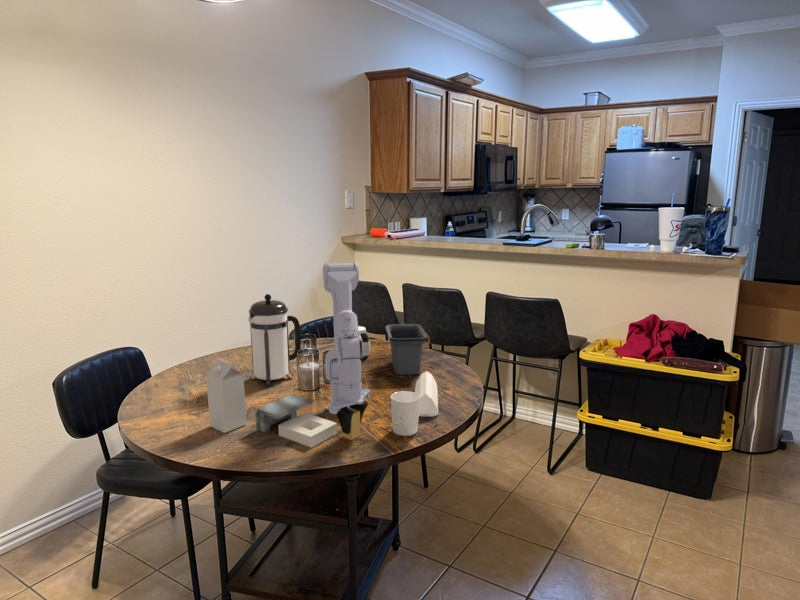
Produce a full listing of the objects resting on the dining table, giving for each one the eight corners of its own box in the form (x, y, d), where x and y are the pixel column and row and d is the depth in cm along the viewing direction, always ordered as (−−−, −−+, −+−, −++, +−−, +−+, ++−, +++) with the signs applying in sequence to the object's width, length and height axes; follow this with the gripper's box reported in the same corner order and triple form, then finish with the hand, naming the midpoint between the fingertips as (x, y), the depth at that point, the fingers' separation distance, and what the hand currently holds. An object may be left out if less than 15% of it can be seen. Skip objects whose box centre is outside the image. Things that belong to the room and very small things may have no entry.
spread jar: (370, 354, 216) (369, 325, 213) (370, 363, 205) (370, 333, 202) (339, 354, 215) (339, 326, 212) (338, 363, 204) (337, 333, 201)
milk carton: (232, 418, 155) (227, 355, 151) (246, 425, 151) (242, 360, 147) (209, 426, 150) (204, 361, 146) (224, 433, 146) (219, 366, 142)
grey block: (291, 414, 158) (290, 393, 157) (313, 421, 153) (312, 400, 152) (256, 430, 148) (254, 407, 146) (278, 439, 143) (277, 415, 141)
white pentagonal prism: (444, 407, 154) (443, 378, 178) (423, 395, 154) (424, 367, 177) (431, 427, 156) (431, 396, 179) (410, 415, 155) (413, 385, 179)
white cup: (418, 424, 152) (418, 390, 150) (420, 437, 144) (420, 401, 142) (390, 424, 151) (390, 391, 149) (391, 437, 144) (390, 402, 142)
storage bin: (384, 359, 209) (384, 323, 206) (424, 358, 210) (424, 322, 207) (389, 378, 188) (389, 339, 185) (433, 376, 190) (434, 337, 187)
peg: (350, 431, 147) (349, 407, 145) (360, 435, 145) (360, 410, 143) (341, 436, 144) (341, 412, 143) (351, 440, 142) (351, 415, 141)
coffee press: (291, 387, 180) (288, 298, 174) (244, 386, 180) (238, 298, 174) (302, 369, 197) (299, 288, 191) (258, 369, 197) (254, 288, 191)
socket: (305, 422, 153) (305, 412, 152) (337, 433, 146) (337, 423, 145) (278, 435, 145) (278, 425, 144) (311, 447, 138) (310, 436, 137)
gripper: (343, 393, 133) (344, 444, 136) (379, 377, 145) (379, 424, 148) (322, 387, 137) (323, 437, 140) (358, 371, 149) (359, 417, 152)
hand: (351, 430), depth 144 cm, fingers closed on peg, 3 cm apart
